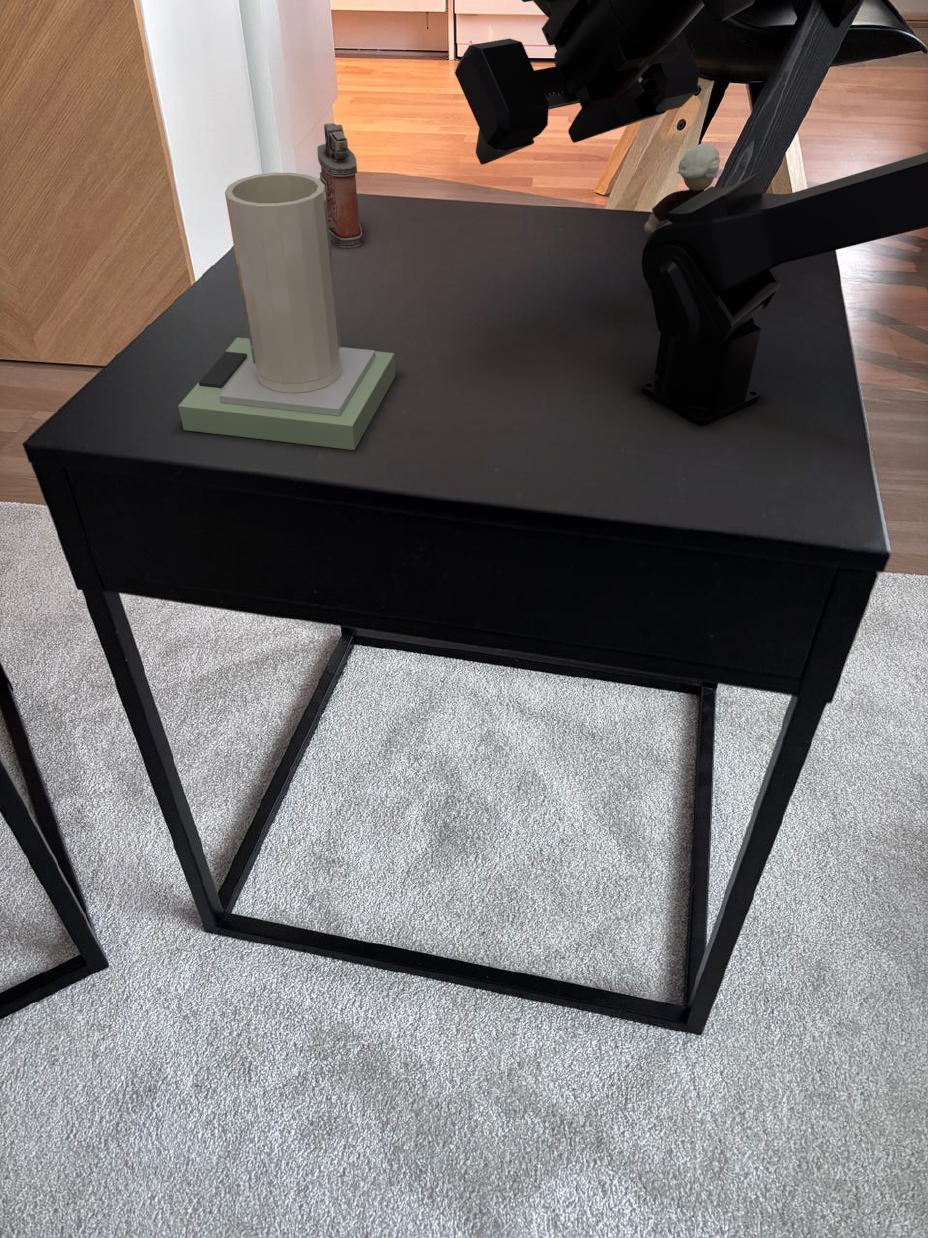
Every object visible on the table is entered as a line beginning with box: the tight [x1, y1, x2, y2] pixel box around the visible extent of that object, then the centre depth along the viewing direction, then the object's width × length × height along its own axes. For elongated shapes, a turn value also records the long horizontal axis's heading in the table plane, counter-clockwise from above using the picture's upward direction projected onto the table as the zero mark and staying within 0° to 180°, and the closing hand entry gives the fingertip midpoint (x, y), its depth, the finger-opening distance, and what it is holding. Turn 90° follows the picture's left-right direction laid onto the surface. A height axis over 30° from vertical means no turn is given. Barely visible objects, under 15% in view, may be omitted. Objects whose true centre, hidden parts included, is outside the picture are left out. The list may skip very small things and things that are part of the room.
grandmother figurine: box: [643, 143, 721, 234], centre depth 81 cm, size 8×4×13 cm, turn 84°
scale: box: [177, 337, 396, 451], centre depth 71 cm, size 13×11×3 cm
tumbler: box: [224, 172, 342, 393], centre depth 65 cm, size 6×6×13 cm
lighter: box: [316, 122, 363, 249], centre depth 93 cm, size 8×3×10 cm, turn 17°
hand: (527, 147), depth 74 cm, fingers open, 9 cm apart
